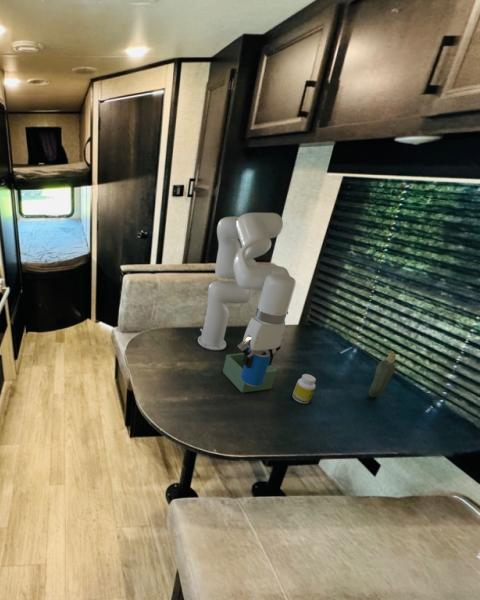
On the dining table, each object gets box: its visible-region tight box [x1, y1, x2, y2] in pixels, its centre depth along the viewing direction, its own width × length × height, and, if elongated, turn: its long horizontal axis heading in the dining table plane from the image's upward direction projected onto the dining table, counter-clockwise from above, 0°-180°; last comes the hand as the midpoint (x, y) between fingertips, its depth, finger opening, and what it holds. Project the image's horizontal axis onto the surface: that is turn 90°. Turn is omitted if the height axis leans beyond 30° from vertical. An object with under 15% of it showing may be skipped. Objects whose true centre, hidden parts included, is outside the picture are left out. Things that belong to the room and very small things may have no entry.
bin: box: [222, 352, 278, 394], centre depth 123 cm, size 13×13×9 cm
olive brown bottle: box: [368, 349, 396, 398], centre depth 111 cm, size 4×4×20 cm
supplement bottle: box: [291, 373, 317, 404], centre depth 113 cm, size 5×5×10 cm
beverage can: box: [241, 349, 271, 386], centre depth 100 cm, size 6×6×12 cm
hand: (256, 363), depth 100 cm, fingers closed on beverage can, 6 cm apart
